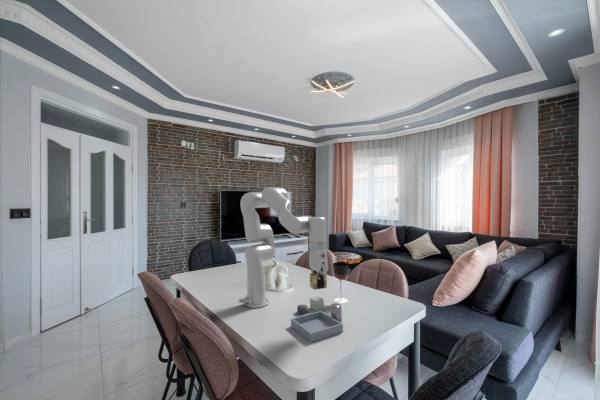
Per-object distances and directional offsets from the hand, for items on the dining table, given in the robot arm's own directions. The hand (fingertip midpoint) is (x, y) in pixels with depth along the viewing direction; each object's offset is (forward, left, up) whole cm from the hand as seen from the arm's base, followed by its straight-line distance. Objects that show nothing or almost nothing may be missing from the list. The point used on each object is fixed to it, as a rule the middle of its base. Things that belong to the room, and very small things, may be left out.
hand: (318, 285), depth 120 cm
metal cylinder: (+9, -1, -18) cm, 20 cm away
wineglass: (+27, +18, -18) cm, 37 cm away
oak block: (0, 0, -1) cm, 1 cm away
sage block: (+10, +16, -18) cm, 26 cm away
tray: (-3, -2, -18) cm, 18 cm away
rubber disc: (+1, +16, -18) cm, 24 cm away
